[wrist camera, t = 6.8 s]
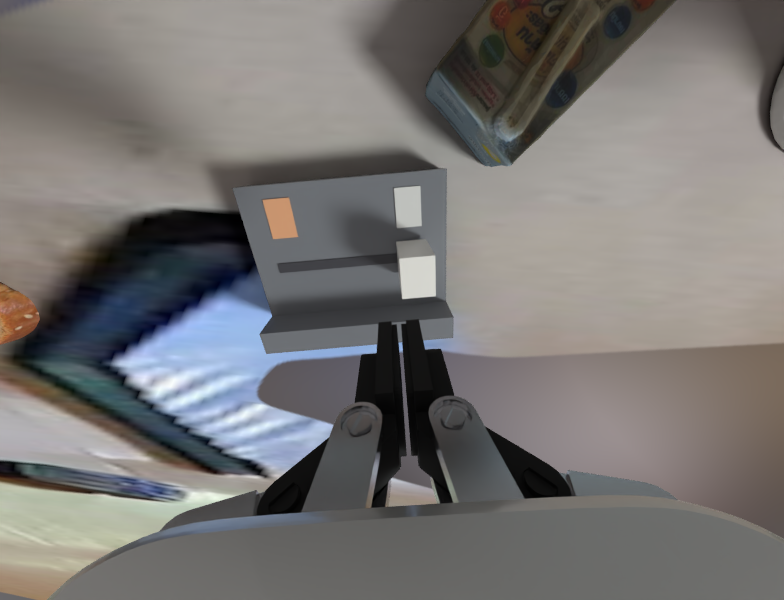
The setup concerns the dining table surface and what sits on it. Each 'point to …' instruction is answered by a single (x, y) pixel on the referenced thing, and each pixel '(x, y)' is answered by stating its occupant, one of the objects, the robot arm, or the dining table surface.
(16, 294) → the bread slice
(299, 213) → the grey slide switch panel
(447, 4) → the dining table surface
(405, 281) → the knob
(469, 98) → the beverage carton
